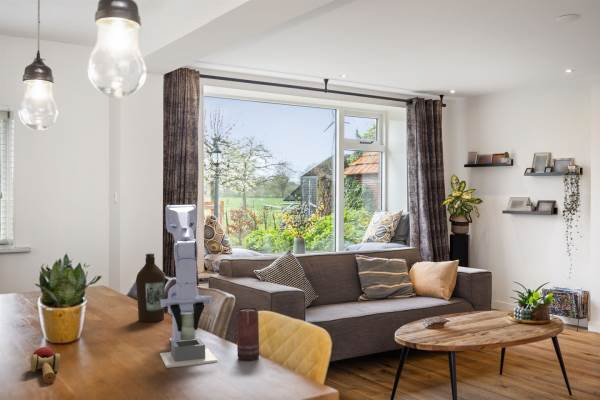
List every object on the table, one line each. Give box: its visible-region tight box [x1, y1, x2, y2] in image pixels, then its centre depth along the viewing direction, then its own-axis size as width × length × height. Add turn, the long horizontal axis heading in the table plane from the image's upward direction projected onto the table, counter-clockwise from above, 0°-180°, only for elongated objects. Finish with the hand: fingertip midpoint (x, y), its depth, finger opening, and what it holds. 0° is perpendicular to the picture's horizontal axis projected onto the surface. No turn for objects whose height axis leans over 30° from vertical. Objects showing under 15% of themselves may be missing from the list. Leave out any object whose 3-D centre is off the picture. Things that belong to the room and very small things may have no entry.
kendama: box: [29, 346, 61, 384], centre depth 158 cm, size 8×6×18 cm
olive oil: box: [135, 253, 166, 323], centre depth 225 cm, size 11×11×25 cm
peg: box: [180, 313, 195, 340], centre depth 170 cm, size 4×4×7 cm
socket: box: [159, 338, 218, 369], centre depth 170 cm, size 14×14×4 cm
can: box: [236, 307, 260, 362], centre depth 169 cm, size 6×6×14 cm
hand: (187, 330), depth 170 cm, fingers closed on peg, 4 cm apart
